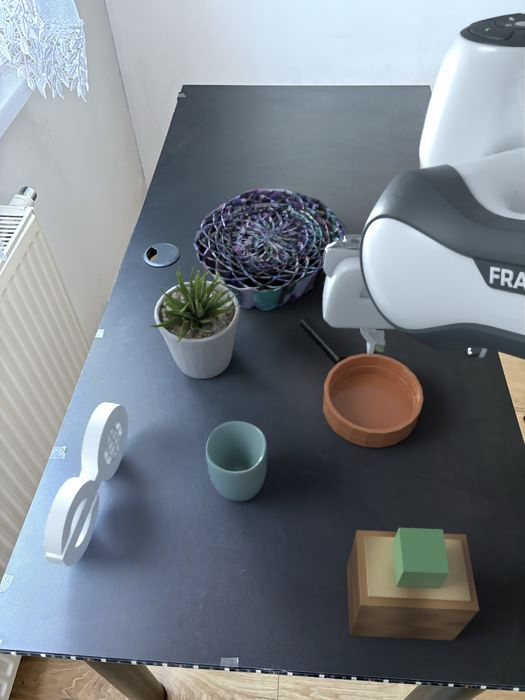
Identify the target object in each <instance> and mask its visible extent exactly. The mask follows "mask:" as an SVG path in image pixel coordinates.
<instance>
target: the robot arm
mask: <svg viewBox="0 0 525 700" xmlns="http://www.w3.org/2000/svg"><path fill="white" fill-rule="evenodd" d="M429 99H430V100H429V103H428V107H427V111H426V115H425V119H424V122H423V126H422V131H421V136H420V140H419V147H418V156H419V157H418V158H419V168H416V169H410V170H404V171H401V172H399V173H398V174H397V175H395V176H394V177H393V179H392V180H391V181H390V182H389V184H388V185H387V187H386V188H385V189H384V191H382V194H381V195H380V197H379V198H378V199H377V202H376V203H375V205H374V206H373V209H372V210H371V212H370V214H369V216H368V218H367V220H366V222H365V225H364V227H363V229H362V233H361V234H359V233H350V234H345V236H344V239H339V240H336V241H334V242H332V243H330V244H329V245H327V247H326V249H325V251H324V255H323V270H324V272H325V273H326V275H327V276H326V279H325V281H324V284H323V285H324V286H323V292H322V318H323V320H324V321H325V322H326V323H327V325H329V326H330V327H331V328H337V329H359V330H360V331H359V332H360V335H361V336H362V337H363V339H364V340H365V341H366V352H367V353H366V354H379V355H384V352H385V349H386V339H385V330H396V331H397V332H399V333H400V334H402V335H403V336H405V337H406V338H408V339H410V340H411V341H413V342H415V343H417V344H419V345H421V346H423V347H426V348H428V349H430V350H433V351H434V352H435V351H436V352H440V353H441V352H442V353H445V352H447V353H448V352H452V351H453V352H454V351H457V350H461V349H465V351H466V357H468V358H485V356H486V354H487V352H488V350H489V351H494V352H498V353H500V354H504V355H509V356H512V357H515V358H518V359H520V360H523V361H525V12H523V13H522V12H516V13H509V14H503V15H498V16H493V17H489V18H485V19H481V20H477V21H475V22H472V23H470V24H469V25H467V26H466V27H464V28H462V29H461V30H460V31H459V32H458V33H457V34H456V36H455V37H454V38H453V41H452V42H451V44H450V45H449V48H448V49H447V52H446V54H445V56H444V58H443V60H442V63H441V65H440V68H439V70H438V74H437V76H436V80H435V82H434V86H433V89H432V92H431V96H430V98H429Z"/></svg>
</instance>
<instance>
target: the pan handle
mask: <svg viewBox="0 0 525 700" xmlns="http://www.w3.org/2000/svg"><path fill="white" fill-rule="evenodd" d="M298 324H299V327H300V328H301V329H302V330H303V331H304V332H305V334H307V335H308V336H309V337H310V339H311V340H312V341H313V342H314V343H315V344H316V345H317V346H318V347H319V349H320V350H321V351H322V352H323V353H324V354H325V355H326V356H327V357H328V358H329V360H330V361H331V362H332V363H333V364H334V366H335V365H336V364H337V363H338V362H340V361H342V360H344V359H346V358H347V356H346V355H345V354H344V353H343V352H342V351H341V349H339V347H337V345H336V344H334V342H333V341H332V340H331V339H330V338H329V337H328V336H327V335H326V333H324V332H323V331H322V330H321V329H320V327H319V326H318V325H317V324H316V323H315V322H314V321H313V320H312V319H311V318H310V317H309V316H304V317H302V318H301V319H300V321H299V323H298Z"/></svg>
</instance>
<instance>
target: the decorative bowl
mask: <svg viewBox="0 0 525 700" xmlns="http://www.w3.org/2000/svg"><path fill="white" fill-rule="evenodd" d="M345 235H346V226H345V224H344V223H343V222H342V221H341V219H339V217H338V215H337V213H336V212H335V211H333V210H331V209H330V208H329V206H327V205H326V204H325V203H324V202H322V201H321V200H320V199H317V198H315V197H314V198H313V197H310V196H308V195H304V194H302V193H299V192H296V191H295V192H294V191H291V190H288V189H285V188H255V189H251V190H248V191H244V192H243V193H241V194H240V195H236V196H234V197H233V198H231V199H230V200H227V201H225V202H224V203H222V204H221V205H220V206H218V207H217V208H215V209H213V210H211V211H210V212H208V214H207V215H206V216H204V217H203V218H202V222H201V224H200V225H199V227H198V228H197V229H196V234H195V237H194V240H193V242H192V243H193V244H192V245H193V247H194V248H195V255H196V259H197V261H198V262H199V263H200V264H201V265H202V266H203V268H204V270H206V273H208V274H207V275H209V277H210V278H211V280H212V281H213V280H214V279H216V278H217V277H218V278H217V280H216V281H215V283H217V282H219V281H221V283H219V284H221V285H223V286H224V287H226V288H228V289H232V290H231V291H232V292H233V293H234V294H237V293H238V294H237V295H236V298H237V299H238V302H239V304H240V305H239V306H240V308H242V309H247V310H251V309H254V308H256V309H258V310H261V311H265V312H266V311H271V310H274V309H275V308H279V307H282V306H284V305H285V304H287V303H288V301H291V302H292V301H296V300H299V299H300V298H301V297H302V296H303V294H306V293H307V292H308V291H309V290H310V289H311V290H312V289H316V288H320V287H322V285H324V283H325V280H326V276H327V275H326V273H325V272H324V270H323V255H324V251H325V249H326V247H327V245H329V244H330V243H332V242H334V241H336V240H339V239H344V236H345Z"/></svg>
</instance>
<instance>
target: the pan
mask: <svg viewBox="0 0 525 700" xmlns="http://www.w3.org/2000/svg"><path fill="white" fill-rule="evenodd" d="M423 404H424V393H423V387H422V385H421V383H420V381H419V380H418V378H417V375H415V373H414V372H412V370H411V369H410V368H409V367H408V366H407V365H405V364H403V363H402V362H400V361H398V360H396V359H395V358H392V357H389V356H386V355H384V354H368V353H359V354H355V355H349V356H348V357H346V359H344V360H342V361H340V362H338V363H337V364H336V365H335V364H334V366H333V367H332V368H331V369H330V371H329V372H328V374H327V376H326V379H325V381H324V387H323V395H322V412H323V414H324V416H325V419H326V422H327V423H328V425H329V426H330V427H331V428H332V430H333V431H334V432H335V433H336V434H337V435H338V436H340V437H341V438H343V439H344V440H346V441H347V442H349V443H350V444H355V445H357V446H360V447H363V448H364V447H365V448H377V449H378V448H380V449H381V448H386V447H389V446H390V447H391V446H394V445H396V444H398V443H399V442H401V441H403V440H404V439H406V438H407V437H408V436H409V435H410V434H411V433H412V431H413V430H414V429H415V428H416V425H417V422H418V420H419V416H420V414H421V410H422V406H423Z"/></svg>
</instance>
